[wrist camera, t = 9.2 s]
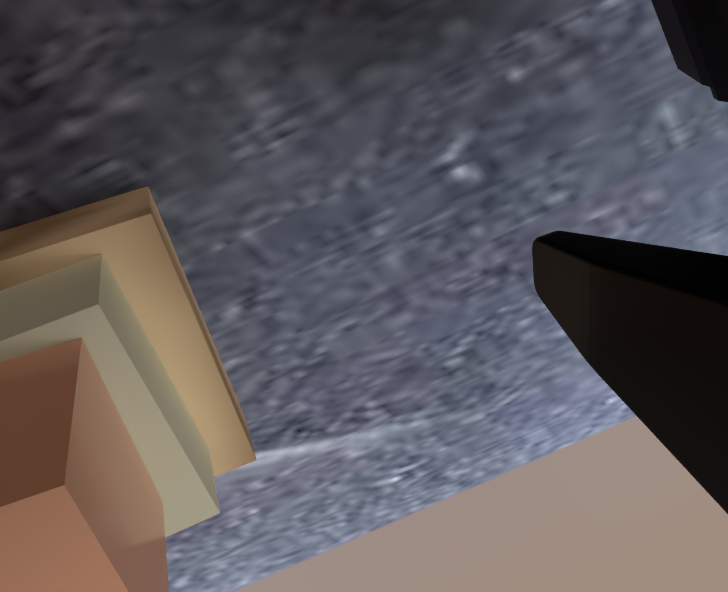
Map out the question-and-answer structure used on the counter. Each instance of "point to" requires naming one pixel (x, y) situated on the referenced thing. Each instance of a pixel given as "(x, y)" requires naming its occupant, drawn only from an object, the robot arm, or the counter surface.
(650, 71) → the counter surface
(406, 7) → the counter surface
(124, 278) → the tower base
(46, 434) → the terracotta brick
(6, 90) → the counter surface
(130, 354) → the tower top
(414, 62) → the counter surface
